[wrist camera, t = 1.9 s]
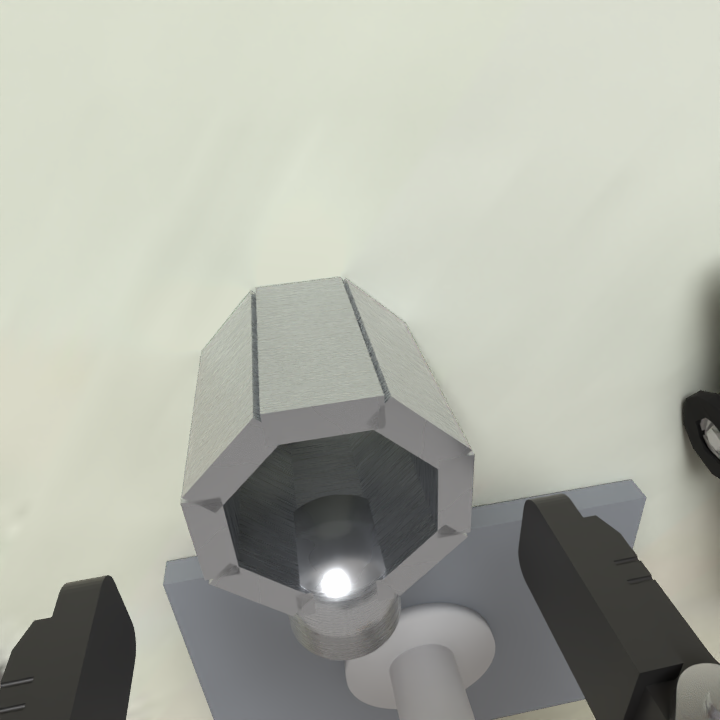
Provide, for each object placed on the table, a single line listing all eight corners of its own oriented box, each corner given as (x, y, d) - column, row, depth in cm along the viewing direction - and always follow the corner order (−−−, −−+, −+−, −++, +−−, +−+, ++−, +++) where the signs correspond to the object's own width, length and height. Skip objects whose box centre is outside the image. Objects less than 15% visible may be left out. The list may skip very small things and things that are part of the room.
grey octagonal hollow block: (406, 268, 16) (481, 386, 11) (411, 478, 21) (467, 636, 15) (186, 296, 16) (156, 436, 10) (237, 507, 20) (234, 683, 15)
